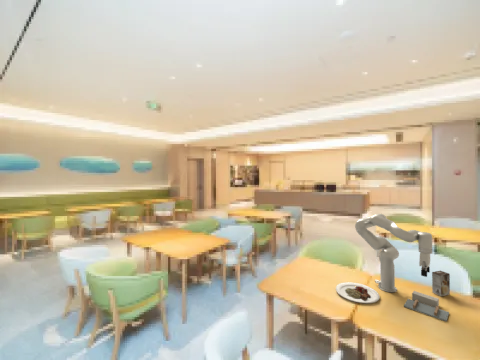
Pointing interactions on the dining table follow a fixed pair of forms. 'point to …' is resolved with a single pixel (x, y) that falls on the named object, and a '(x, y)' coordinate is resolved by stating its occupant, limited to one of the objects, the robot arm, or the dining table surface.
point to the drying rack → (427, 309)
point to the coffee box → (441, 283)
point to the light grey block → (425, 299)
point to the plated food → (357, 292)
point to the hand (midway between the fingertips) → (425, 273)
